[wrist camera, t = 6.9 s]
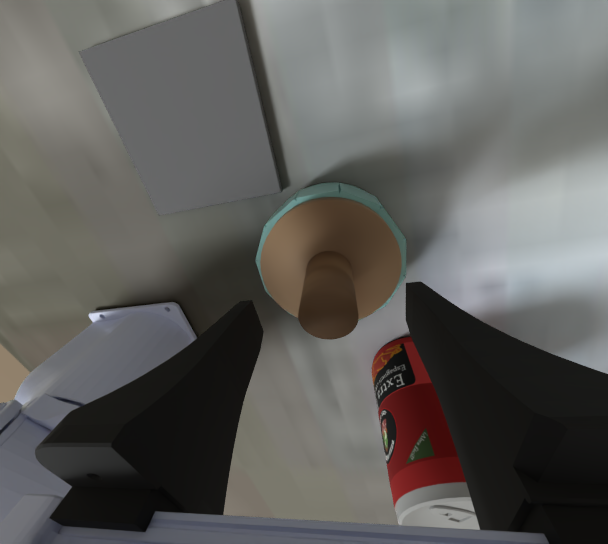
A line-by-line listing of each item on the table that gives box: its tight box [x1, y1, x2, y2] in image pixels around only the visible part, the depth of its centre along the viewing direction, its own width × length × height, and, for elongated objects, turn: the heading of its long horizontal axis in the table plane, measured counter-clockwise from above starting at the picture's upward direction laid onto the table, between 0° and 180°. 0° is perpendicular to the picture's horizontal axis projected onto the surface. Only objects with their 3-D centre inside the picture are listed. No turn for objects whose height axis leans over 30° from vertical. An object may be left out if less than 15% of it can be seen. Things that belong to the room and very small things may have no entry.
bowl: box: [255, 182, 406, 321], centre depth 16 cm, size 9×9×3 cm
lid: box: [260, 197, 402, 339], centre depth 13 cm, size 8×8×5 cm
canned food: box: [372, 337, 480, 530], centre depth 18 cm, size 8×8×11 cm
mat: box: [79, 0, 282, 215], centre depth 14 cm, size 9×9×1 cm
